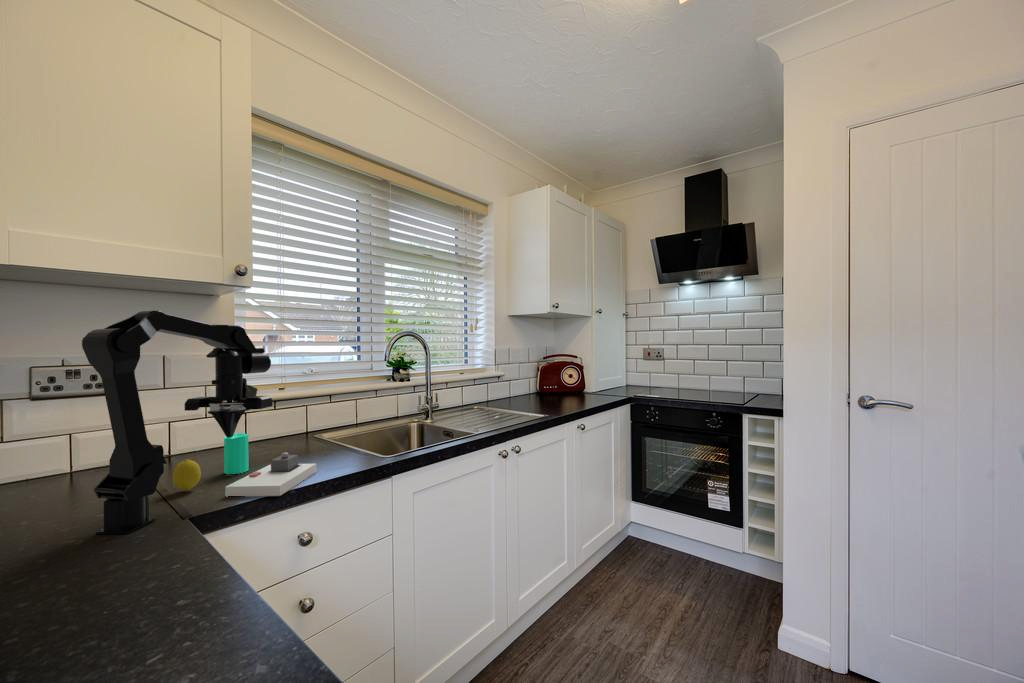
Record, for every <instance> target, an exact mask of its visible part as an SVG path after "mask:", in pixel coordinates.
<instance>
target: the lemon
mask: <svg viewBox="0 0 1024 683" xmlns="http://www.w3.org/2000/svg"><path fill="white" fill-rule="evenodd" d="M201 471H202V470H201V467H200V465H199V464H198V463H197V462H196V461H194V460H191V459H189V458H187V459H184V460H183V461H180V463H178V464H177V465H176V466H175V467H174V470H173V473H172V483H173V484H174V487H175V488H177V489H179V490H183V491H184V492H186V491H187V492H189V491H190V490H191V489H192V488H194V487H196V485H198V484H199V482H200V480H201V476H202V474H201Z"/></svg>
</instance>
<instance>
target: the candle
mask: <svg viewBox="0 0 1024 683" xmlns="http://www.w3.org/2000/svg"><path fill="white" fill-rule="evenodd" d="M237 432H238V431H237V430H236V429H235V433H234V435H233V437H231V438H227V437H226V435H224V437H223V454H224V455H223V464H224V466H223V467H224V468H223V469H224V470H223V472H224V473H226V474H236V473H242V474H244V473H243V472H246V471H248V470H249V466H250V465H249V463H250V461H249V458H250V457H249V454H250V453H249V434H247V433H243V432H238V433H237ZM249 471H250V470H249ZM249 471H248V472H249ZM246 473H247V472H246Z"/></svg>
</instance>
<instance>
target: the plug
mask: <svg viewBox="0 0 1024 683" xmlns="http://www.w3.org/2000/svg"><path fill="white" fill-rule="evenodd" d="M270 464H271V473H274V472H291V471H292V470H294V469H296V468H298V464H299V454H289V452H282V453H281V455H280V456H278V457H275V458H273V459H271V460H270Z"/></svg>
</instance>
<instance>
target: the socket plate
mask: <svg viewBox="0 0 1024 683" xmlns="http://www.w3.org/2000/svg"><path fill="white" fill-rule="evenodd" d="M317 467H318V466H317V463H298V468H296V469H294V470H292V471H291V472H274V473H271V463H270V464H269V465H266V466H265V467H262V468H261V469H258V470H256V471H253V472H252V473H250V474H248V475H247V476H244V477H241V478H240V479H238V480H236V481H235V482H232V483H230V484H228V485H226V486H225V487H224V488H225V489H224V490H225V492H224V494H225V496H226V497H225V498H229V497H228V496H245V497H281V496H282V495H284V494H285V493H287V492H288V491H290V490H291V489H293V488H294V487H296V486H298V485H299V484H301V483H302V482H304V481H305V480H307V479H308V478H310V477H312V476H313V475H314V474H316V473H317ZM303 480H304V481H303ZM300 482H301V483H300ZM297 484H298V485H297Z"/></svg>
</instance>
